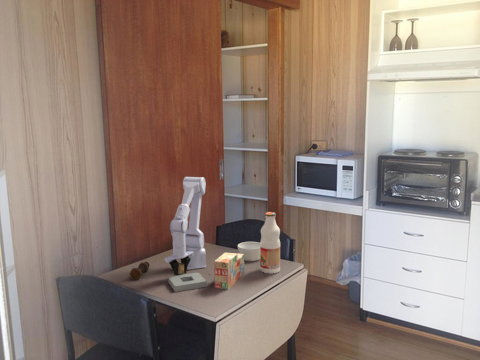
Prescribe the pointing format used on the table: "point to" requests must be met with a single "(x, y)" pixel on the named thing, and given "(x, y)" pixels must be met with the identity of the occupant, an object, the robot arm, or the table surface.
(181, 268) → the peg
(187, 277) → the board
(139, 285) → the table surface
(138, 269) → the bolt
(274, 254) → the fruit juice
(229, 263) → the stack of blocks
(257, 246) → the ramekin
